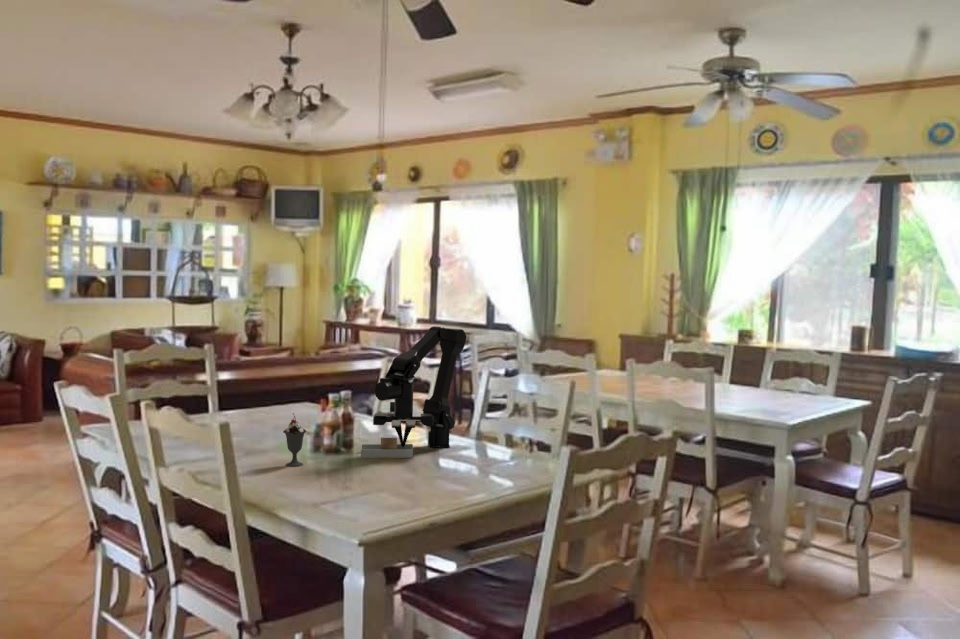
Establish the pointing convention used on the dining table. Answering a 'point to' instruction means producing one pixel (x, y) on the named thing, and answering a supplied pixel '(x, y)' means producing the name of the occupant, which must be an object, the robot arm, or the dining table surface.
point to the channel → (386, 451)
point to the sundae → (294, 441)
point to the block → (388, 443)
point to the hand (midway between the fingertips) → (402, 446)
